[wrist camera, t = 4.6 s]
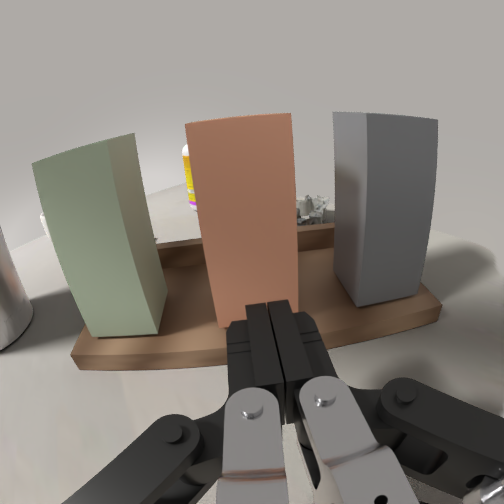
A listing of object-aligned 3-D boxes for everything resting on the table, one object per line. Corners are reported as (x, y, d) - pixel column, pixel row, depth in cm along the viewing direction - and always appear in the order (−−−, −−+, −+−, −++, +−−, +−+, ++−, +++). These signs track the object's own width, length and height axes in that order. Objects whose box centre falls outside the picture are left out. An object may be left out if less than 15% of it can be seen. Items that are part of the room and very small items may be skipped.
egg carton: (279, 213, 42) (278, 185, 40) (332, 217, 39) (332, 187, 37) (249, 244, 33) (246, 209, 32) (315, 251, 30) (315, 213, 29)
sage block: (92, 336, 18) (31, 163, 12) (111, 296, 22) (70, 149, 17) (157, 333, 18) (106, 140, 12) (167, 290, 22) (134, 132, 17)
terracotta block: (218, 328, 18) (184, 124, 13) (218, 285, 22) (194, 121, 17) (298, 317, 18) (290, 113, 13) (283, 276, 23) (273, 113, 17)
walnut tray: (79, 369, 17) (57, 332, 15) (119, 281, 28) (109, 250, 26) (437, 321, 18) (449, 281, 17) (372, 249, 29) (375, 218, 27)
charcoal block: (356, 307, 18) (366, 113, 13) (333, 269, 23) (332, 111, 18) (417, 294, 19) (437, 119, 13) (387, 261, 23) (395, 114, 18)
